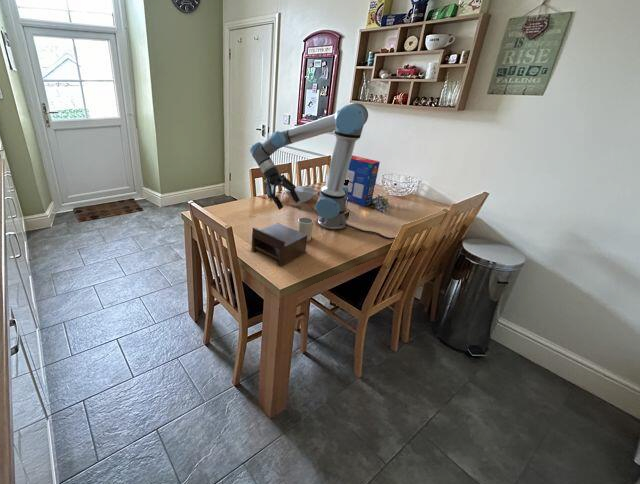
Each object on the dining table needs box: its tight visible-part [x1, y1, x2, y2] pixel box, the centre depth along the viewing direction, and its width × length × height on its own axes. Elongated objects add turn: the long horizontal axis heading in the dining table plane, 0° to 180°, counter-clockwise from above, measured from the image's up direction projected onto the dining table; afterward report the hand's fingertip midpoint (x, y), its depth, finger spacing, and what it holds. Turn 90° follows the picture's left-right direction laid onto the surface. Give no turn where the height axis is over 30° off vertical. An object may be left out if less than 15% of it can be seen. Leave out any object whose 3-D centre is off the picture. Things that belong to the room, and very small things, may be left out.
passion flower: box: [370, 193, 390, 213], centre depth 201 cm, size 11×11×12 cm
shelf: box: [251, 222, 308, 267], centre depth 151 cm, size 18×18×12 cm
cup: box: [296, 216, 314, 242], centre depth 164 cm, size 8×8×10 cm
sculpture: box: [280, 185, 320, 209], centre depth 213 cm, size 25×19×10 cm
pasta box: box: [346, 154, 381, 208], centre depth 213 cm, size 28×8×28 cm, turn 39°
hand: (289, 204), depth 167 cm, fingers open, 13 cm apart
